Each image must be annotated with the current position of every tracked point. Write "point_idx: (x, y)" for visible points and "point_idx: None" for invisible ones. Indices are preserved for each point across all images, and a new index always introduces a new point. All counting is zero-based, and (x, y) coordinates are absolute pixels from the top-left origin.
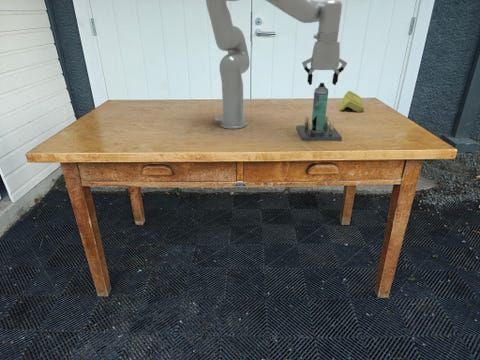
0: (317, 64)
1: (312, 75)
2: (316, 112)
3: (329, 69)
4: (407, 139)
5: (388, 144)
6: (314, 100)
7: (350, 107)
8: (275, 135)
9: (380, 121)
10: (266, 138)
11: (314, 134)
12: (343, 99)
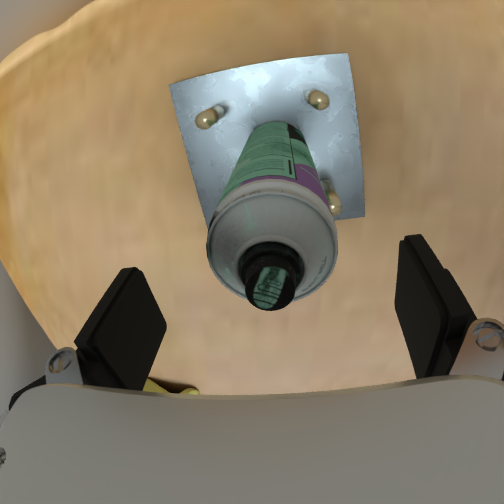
0: (467, 481)
1: (440, 312)
2: (295, 144)
3: (132, 391)
4: (2, 164)
5: (35, 99)
6: (322, 187)
7: (165, 391)
8: (448, 120)
9: (78, 310)
10: (476, 87)
11: (291, 95)
12: None
